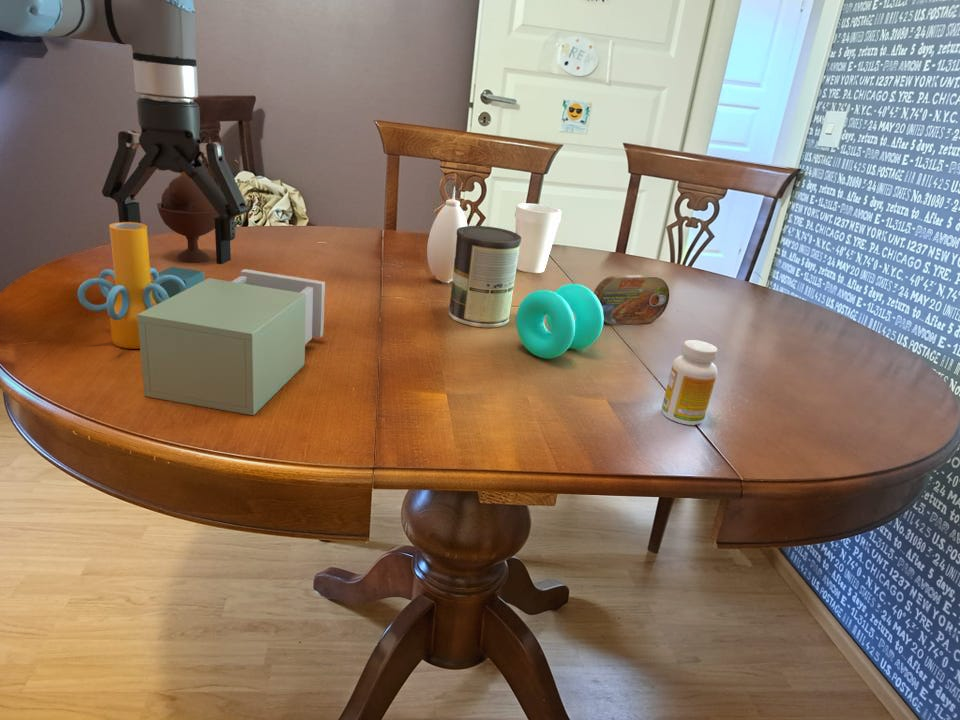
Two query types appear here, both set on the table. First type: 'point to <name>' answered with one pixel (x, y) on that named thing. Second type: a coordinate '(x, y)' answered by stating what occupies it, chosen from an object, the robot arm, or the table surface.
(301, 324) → the green box
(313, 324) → the light grey drawer
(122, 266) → the cylinder
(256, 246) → the table surface
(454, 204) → the sauce bottle
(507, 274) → the coffee can
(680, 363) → the supplement bottle
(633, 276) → the tin
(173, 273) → the teal cube
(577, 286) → the donuts
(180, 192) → the ice cream bowl
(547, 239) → the foam cup
